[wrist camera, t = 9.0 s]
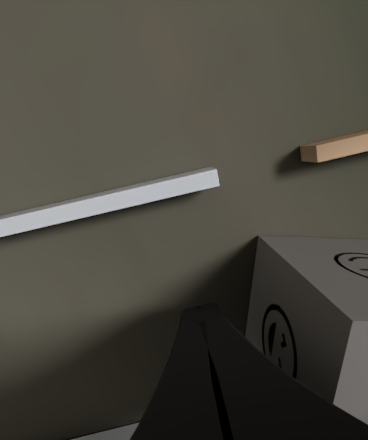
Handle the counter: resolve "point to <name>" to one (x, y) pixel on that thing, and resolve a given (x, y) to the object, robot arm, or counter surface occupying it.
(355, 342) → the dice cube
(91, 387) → the counter surface
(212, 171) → the metal frame
